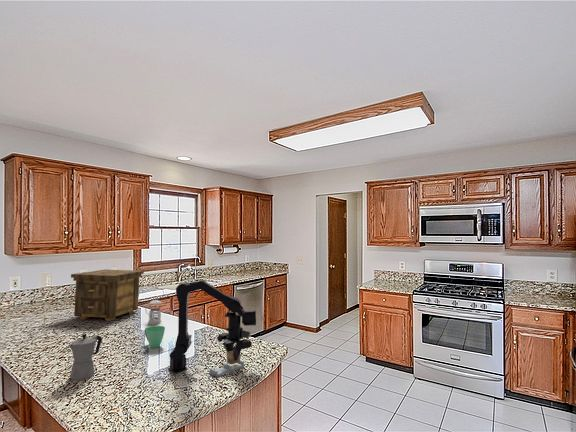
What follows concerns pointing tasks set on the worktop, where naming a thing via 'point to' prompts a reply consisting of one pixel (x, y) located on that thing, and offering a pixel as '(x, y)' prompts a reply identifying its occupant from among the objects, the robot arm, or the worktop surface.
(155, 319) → the french press
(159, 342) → the green cup
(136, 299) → the wooden drawer cabinet
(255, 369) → the worktop surface
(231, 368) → the bracket
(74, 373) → the coffeepot
